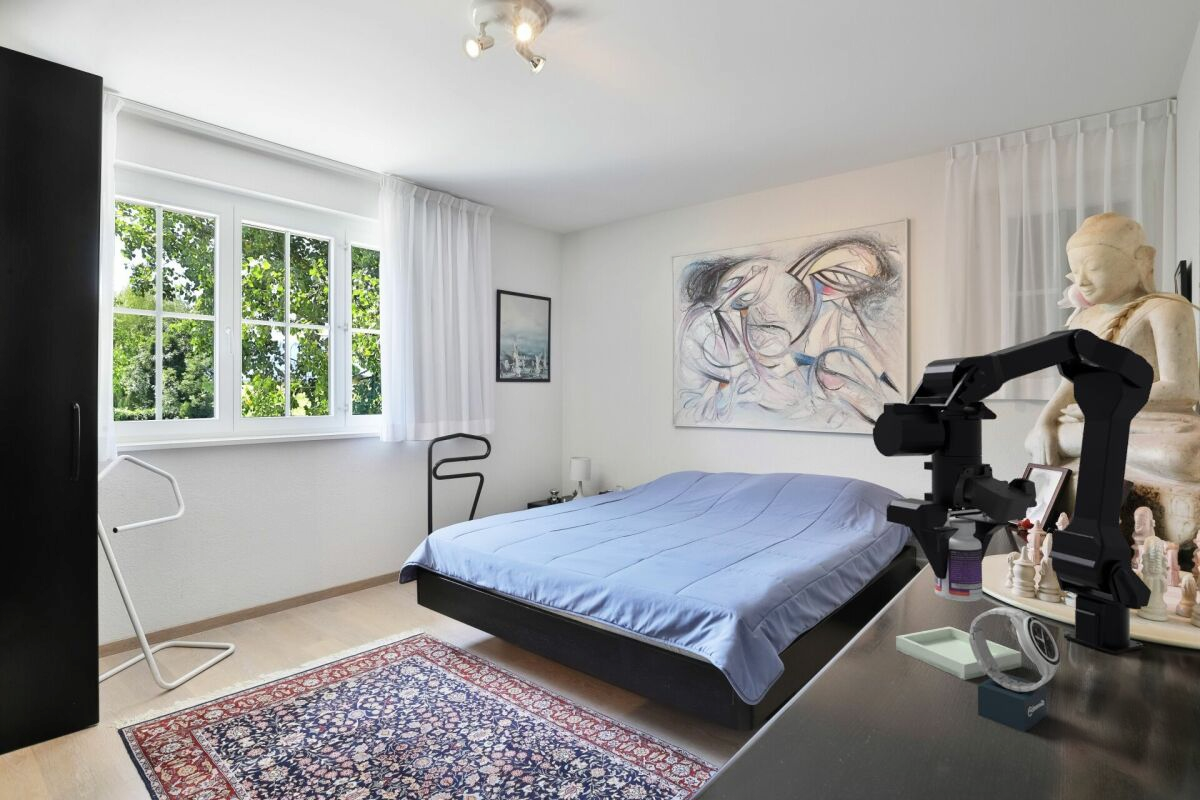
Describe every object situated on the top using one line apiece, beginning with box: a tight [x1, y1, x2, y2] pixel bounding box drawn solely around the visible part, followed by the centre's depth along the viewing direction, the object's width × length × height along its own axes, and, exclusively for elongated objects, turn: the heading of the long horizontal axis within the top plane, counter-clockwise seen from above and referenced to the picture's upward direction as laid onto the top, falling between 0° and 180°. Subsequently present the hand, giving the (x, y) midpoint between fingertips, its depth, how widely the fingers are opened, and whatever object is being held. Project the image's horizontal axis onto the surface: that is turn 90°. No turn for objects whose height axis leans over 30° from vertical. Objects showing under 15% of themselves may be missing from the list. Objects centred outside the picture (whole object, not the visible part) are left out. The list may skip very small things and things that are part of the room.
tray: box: [895, 626, 1022, 681], centre depth 82 cm, size 10×10×2 cm
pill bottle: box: [933, 517, 983, 602], centre depth 82 cm, size 5×5×10 cm
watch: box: [969, 606, 1061, 732], centre depth 67 cm, size 6×8×11 cm
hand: (957, 576), depth 82 cm, fingers closed on pill bottle, 5 cm apart
